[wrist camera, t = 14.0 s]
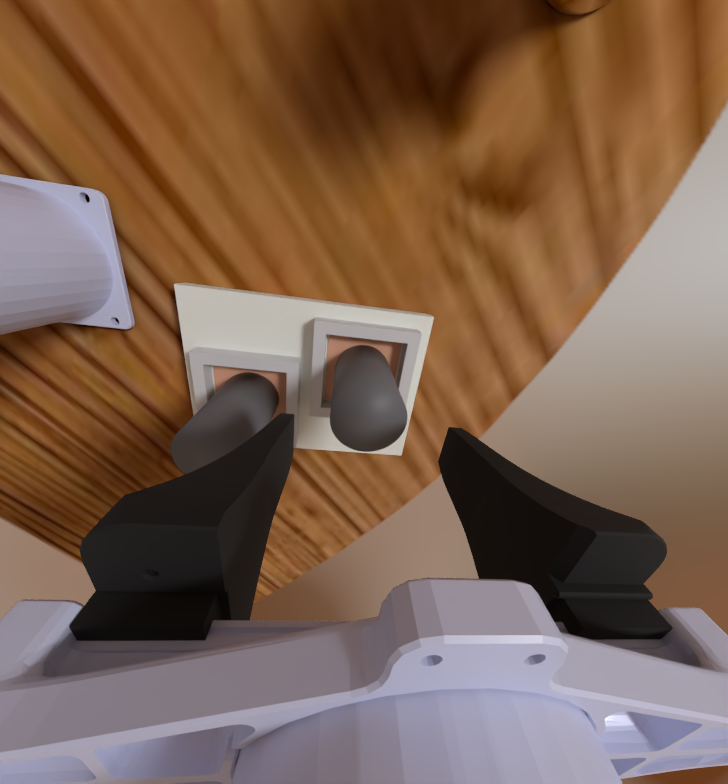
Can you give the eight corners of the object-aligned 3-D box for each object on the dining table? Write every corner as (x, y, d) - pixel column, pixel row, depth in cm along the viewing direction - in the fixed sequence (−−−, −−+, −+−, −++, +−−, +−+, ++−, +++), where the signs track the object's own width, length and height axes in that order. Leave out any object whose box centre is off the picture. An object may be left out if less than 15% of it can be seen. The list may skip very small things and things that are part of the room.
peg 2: (332, 392, 21) (326, 448, 15) (337, 341, 19) (333, 380, 13) (383, 398, 22) (398, 454, 15) (393, 348, 20) (415, 389, 14)
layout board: (204, 432, 24) (189, 450, 21) (183, 282, 18) (162, 285, 16) (399, 447, 25) (404, 464, 23) (429, 314, 20) (439, 320, 18)
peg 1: (224, 415, 21) (173, 479, 15) (224, 367, 20) (167, 417, 14) (276, 423, 22) (248, 488, 16) (281, 377, 20) (251, 430, 14)
